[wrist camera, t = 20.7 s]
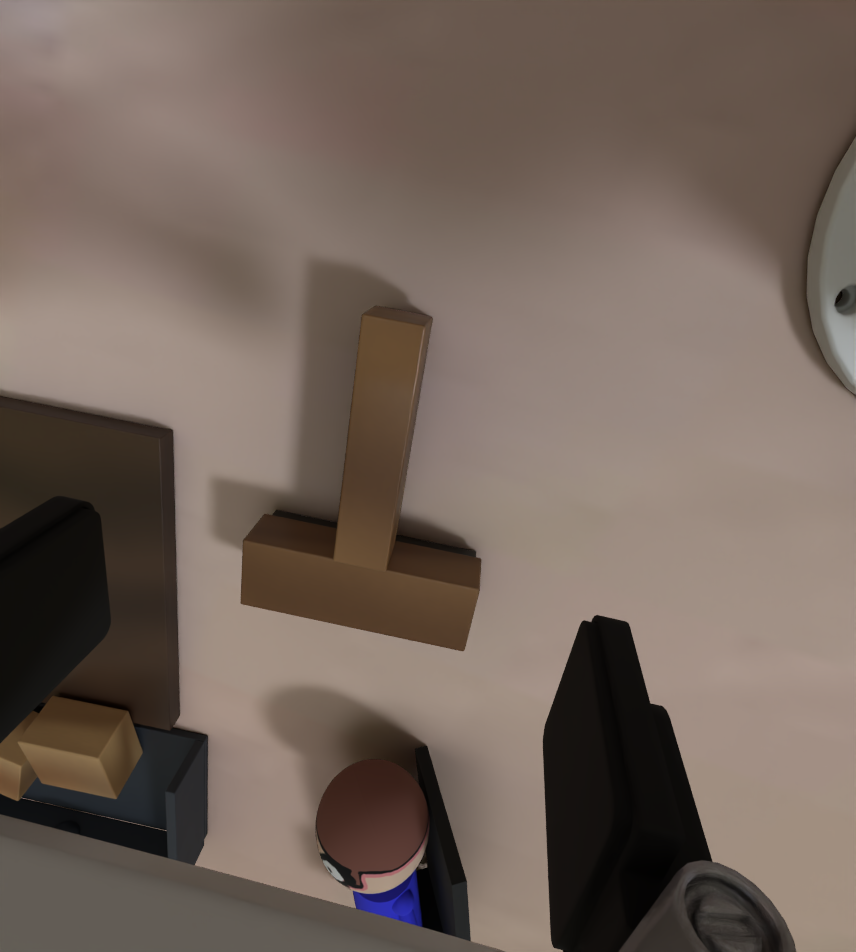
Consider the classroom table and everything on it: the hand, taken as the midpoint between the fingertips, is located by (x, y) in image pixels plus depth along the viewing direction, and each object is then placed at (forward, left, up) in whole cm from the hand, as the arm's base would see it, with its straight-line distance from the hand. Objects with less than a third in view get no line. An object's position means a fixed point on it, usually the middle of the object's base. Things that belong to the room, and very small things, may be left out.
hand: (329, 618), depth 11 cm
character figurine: (+22, +3, -12) cm, 26 cm away
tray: (+10, -16, -12) cm, 22 cm away
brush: (+2, -1, -12) cm, 12 cm away
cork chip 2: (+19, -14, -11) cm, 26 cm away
